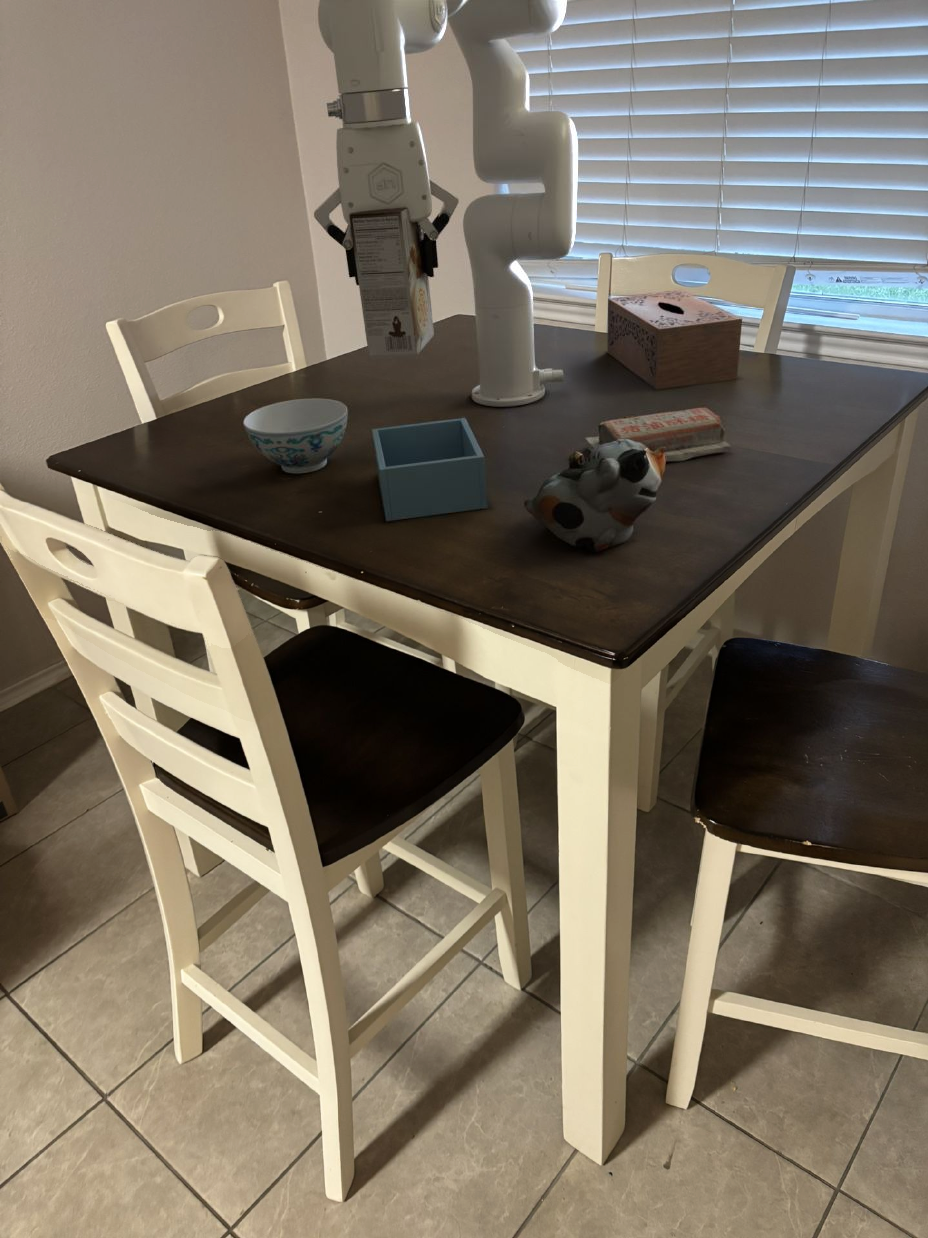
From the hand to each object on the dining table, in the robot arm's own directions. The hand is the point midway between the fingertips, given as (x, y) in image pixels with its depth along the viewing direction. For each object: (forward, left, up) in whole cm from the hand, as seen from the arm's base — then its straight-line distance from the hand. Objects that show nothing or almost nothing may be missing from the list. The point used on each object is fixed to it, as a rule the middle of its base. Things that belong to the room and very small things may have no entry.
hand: (394, 278), depth 106 cm
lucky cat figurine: (-20, +18, -28) cm, 39 cm away
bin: (-2, 0, -28) cm, 28 cm away
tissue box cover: (-51, -44, -28) cm, 73 cm away
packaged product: (-35, -4, -28) cm, 45 cm away
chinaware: (+15, -16, -28) cm, 36 cm away
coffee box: (0, 0, -8) cm, 8 cm away
